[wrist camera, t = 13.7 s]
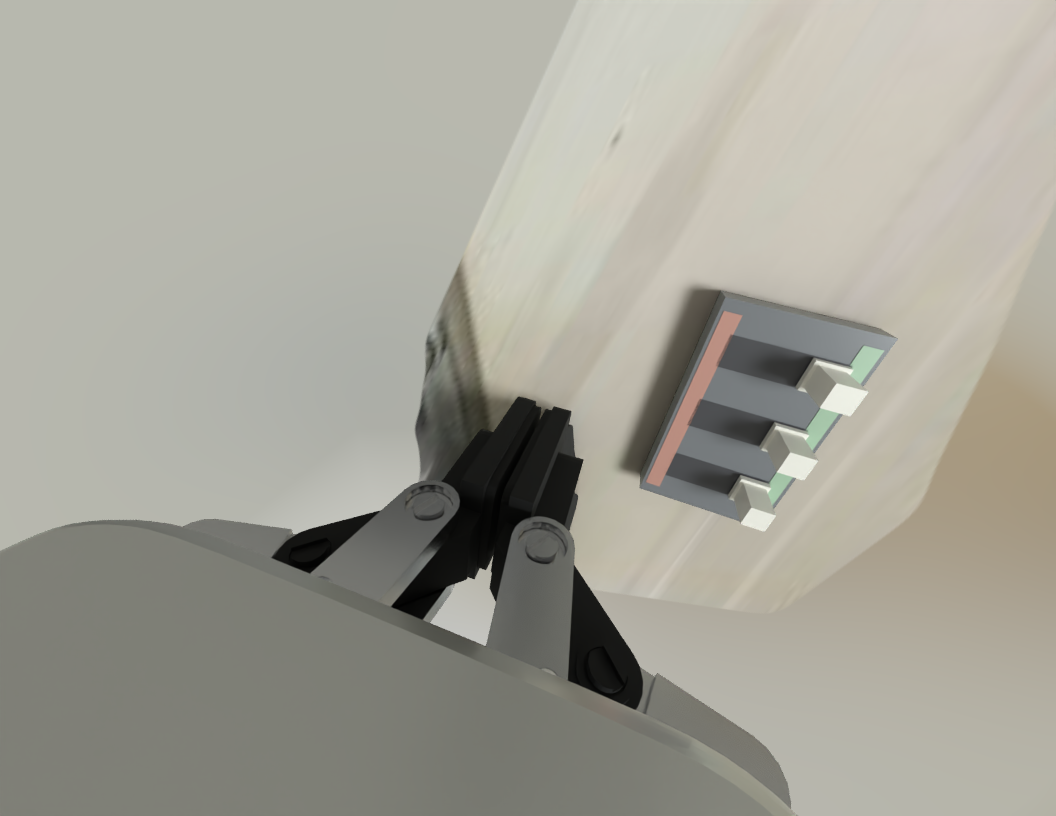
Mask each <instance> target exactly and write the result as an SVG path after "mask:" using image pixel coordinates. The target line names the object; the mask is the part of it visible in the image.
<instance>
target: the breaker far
mask: <svg viewBox="0 0 1056 816" xmlns="http://www.w3.org/2000/svg"><path fill="white" fill-rule="evenodd" d="M770 489H771V486H770V484H768V483H765V482H761V481H758V480H755V479H752V478H749V477H745V476H742V475H740V476H739V478H738V480H737V481H736V483H735V484H734V486H733V488H732V489H731V491H730V492H729V494H728V498H729V499H730V500H733V501H734V502H735V505H736V509H737V513H738V517H739V521H740V524H742V525H745V526H748V527H751V528H754V529H757V530H760V531H763V532H765V530H766V529H767V528H768V526H769V525H770V523H771V522H772V521H773V519H774V518H775V517H776V514H775V511H774V508H773V506H772V503H771V501H770V498H769V495H768V492H769V491H770Z"/></svg>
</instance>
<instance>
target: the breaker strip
mask: <svg viewBox="0 0 1056 816" xmlns="http://www.w3.org/2000/svg"><path fill="white" fill-rule="evenodd" d="M897 340H898V338H896V337H894V336H892V335H890V334H889V333H887V332H885V331H883V330H882V329H879V328H875V327H870V326H866V325H862V324H858V323H854V322H850V321H845V320H841V319H837V318H833V317H829V316H825V315H820V314H816V313H812V312H808V311H804V310H800V309H795V308H791V307H787V306H783V305H779V304H775V303H770V302H766V301H762V300H758V299H754V298H750V297H745V296H741V295H737V294H733V293H729V292H725V291H720V294H719V296H718V298H717V301H716V303H715V305H714V307H713V310H712V312H711V314H710V316H709V319H708V321H707V323H706V326H705V328H704V330H703V332H702V335H701V337H700V339H699V341H698V344H697V346H696V348H695V351H694V353H693V355H692V357H691V360H690V362H689V364H688V366H687V369H686V371H685V373H684V376H683V378H682V380H681V382H680V385H679V387H678V389H677V391H676V394H675V396H674V398H673V401H672V403H671V405H670V407H669V410H668V412H667V414H666V417H665V419H664V421H663V423H662V426H661V428H660V430H659V432H658V435H657V437H656V439H655V442H654V444H653V446H652V448H651V451H650V453H649V455H648V457H647V460H646V462H645V464H644V467H643V469H642V471H641V473H640V488H641V489H644V490H647V491H650V492H653V493H656V494H659V495H662V496H665V497H668V498H671V499H674V500H677V501H680V502H683V503H686V504H689V505H692V506H696V507H699V508H702V509H705V510H708V511H711V512H714V513H717V514H720V515H723V516H726V517H729V518H732V519H735V520H738V521H739V517H738V513H737V509H736V505H735V502H734V501H733V500H730V499H729V498H728V494H729V492H730V491H731V489H732V488H733V486H734V484H735V483H736V481H737V480H738V478H739V476H740V475H742V476H745V477H749V478H752V479H755V480H758V481H761V482H765V483H768V484H770V486H771V489H770V491H769V492H768V495H769V498H770V501H771V503H772V506H773V508H775V507H776V505H777V504H778V502H779V501H780V500H781V498H782V497H783V496H784V494H785V493H786V492H787V490H788V489H789V487H790V486H791V485H792V483H793V482H794V481H795V479H796V478H794V477H791V476H787V475H784V474H781V473H778V472H776V469H775V467H774V465H773V463H772V460H771V458H770V456H769V454H768V452H765V451H762V450H761V449H760V447H759V446H760V444H761V443H762V441H763V440H764V438H765V436H766V435H767V433H768V432H769V430H770V428H771V427H772V425H773V424H774V422H775V423H779V424H782V425H786V426H789V427H793V428H796V429H800V430H803V431H807V432H808V434H809V437H808V438H807V439H806V442H807V443H808V445H809V447H810V448H811V450H812V451H813V453H815V452H816V450H817V449H818V448H819V446H820V445H821V444H822V442H823V441H824V439H825V438H826V437H827V435H828V434H829V433H830V431H831V430H832V429H833V427H834V426H835V424H836V423H837V422H838V420H839V419H840V418H841V416H842V415H843V414H839V413H836V412H832V411H829V410H825V409H821V408H819V407H818V405H817V404H816V403H815V402H814V400H813V399H812V398H811V397H810V395H809V394H808V393H806V392H802V391H798V390H797V389H796V388H795V387H796V385H797V383H798V382H799V380H800V379H801V377H802V375H803V374H804V372H805V371H806V369H807V367H808V366H809V364H810V363H811V361H812V359H813V358H817V359H821V360H825V361H829V362H833V363H836V364H840V365H844V366H848V367H851V368H852V369H853V372H852V373H851V375H850V376H851V377H853V378H854V379H855V380H856V381H857V382H858V383H859V384H860V385H862V386H864V385H865V383H866V382H867V381H868V379H869V378H870V376H871V375H872V374H873V372H874V371H875V370H876V368H877V367H878V366H879V364H880V363H881V361H882V360H883V359H884V357H885V356H886V355H887V353H888V352H889V350H890V349H891V348H892V346H893V345H894V344H895V342H896V341H897Z"/></svg>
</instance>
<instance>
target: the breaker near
mask: <svg viewBox="0 0 1056 816" xmlns="http://www.w3.org/2000/svg"><path fill="white" fill-rule="evenodd" d="M852 372H853V369H852V368H851V367H848V366H844V365H840V364H836V363H833V362H829V361H825V360H821V359H817V358H813V359H812V361H811V363H810V364H809V366H808V367H807V369H806V371H805V372H804V374H803V375H802V377H801V379H800V380H799V382H798V383H797V385H796V387H795V388H796V389H797V390H798V391H802V392H806V393H808V394H809V395H810V397H811V398H812V399H813V400H814V402H815V403H816V404H817V405H818V407H819V408H821V409H825V410H829V411H832V412H836V413H839V414H843V415H847V416H851V415H852V413H853V412H854V411H855V409H856V408H857V407H858V405H859V404H860V403H861V401H862V400H863V399H864V397H865V396H866V395H867V393H868V391H867V390H866V389H865V388H864V387H863V386H862V385H860V384H859V383H858V382H857V381H856V380H855V379H854V378H853V377H851V376H850V375H851V373H852Z"/></svg>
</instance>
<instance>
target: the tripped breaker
mask: <svg viewBox="0 0 1056 816" xmlns="http://www.w3.org/2000/svg"><path fill="white" fill-rule="evenodd" d="M808 437H809V434H808V432H807V431H803V430H800V429H796V428H793V427H789V426H786V425H782V424H779V423H775V422H774V424H773V425H772V427H771V428H770V430H769V432H768V433H767V435H766V436H765V438H764V440H763V441H762V443H761V444H760V446H759V447H760V449H761V450H762V451H765V452H768V454H769V456H770V458H771V460H772V463H773V465H774V467H775V469H776V472H778V473H781V474H784V475H787V476H791V477H794V478H797V479H800V480H804V479H805V478H806V477H807V475H808V474H809V473H810V471H811V470H812V469H813V467H814V466H815V465H816V463H817V462H818V459H817V458H816V456H815V455H814V453H813V451H812V450H811V448H810V447H809V445H808V443H807V442H806V439H807V438H808Z"/></svg>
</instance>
